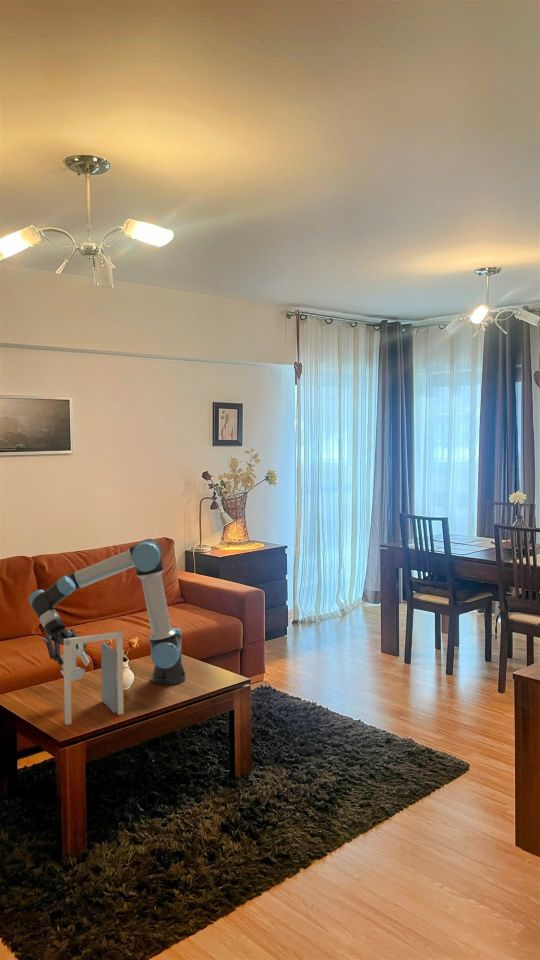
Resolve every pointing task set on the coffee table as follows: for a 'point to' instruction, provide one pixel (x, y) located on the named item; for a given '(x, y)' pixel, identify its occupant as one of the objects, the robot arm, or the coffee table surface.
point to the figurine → (75, 671)
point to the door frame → (67, 668)
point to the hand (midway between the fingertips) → (77, 667)
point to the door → (109, 677)
